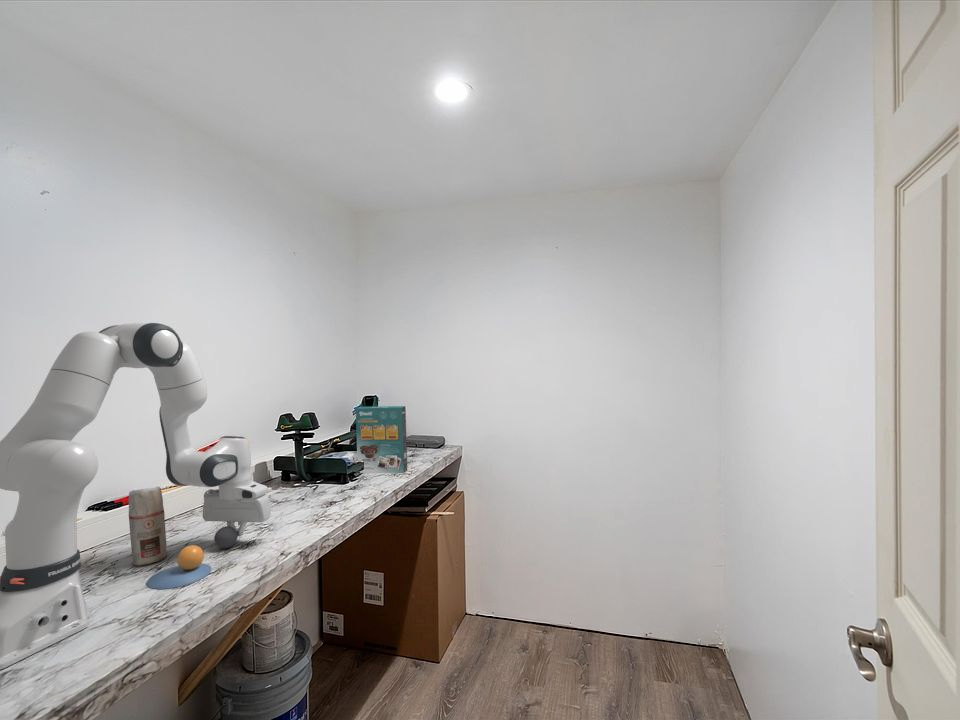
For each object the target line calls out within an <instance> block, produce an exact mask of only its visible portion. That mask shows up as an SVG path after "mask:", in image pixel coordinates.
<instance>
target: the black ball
mask: <svg viewBox="0 0 960 720" xmlns="http://www.w3.org/2000/svg"><path fill="white" fill-rule="evenodd" d="M213 537H214V538H213V540H214V544H215V545H216V546H217V547H218V548H220V549H228V548H231V547H232V546H234V544H235V543H236V542H237V541H238V537H239V536H238V535H237V531H236V530H235V529H234V528H233V527H229V526H227V525H226V526H223V527H220V528H219V529H218V530H217V531H216V532H215V535H214V536H213Z"/></svg>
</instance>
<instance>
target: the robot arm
mask: <svg viewBox="0 0 960 720" xmlns="http://www.w3.org/2000/svg"><path fill="white" fill-rule="evenodd" d="M121 368H129V369H130V368H132V369H145V368H147V369H149V371H150V372H151V373H152V375H153V378H154V382H155V385H156V389H157V391H158V392H157V393H158V396H159V400H160V401H159V402H160V407H159V412H158V413H159V422H160V428H161V433H162V438H163V443H164V447H165V453H166V455H165V456H166V459H165V460H166V461H165V474H166V477H167V478H168V480H169V481H170V483H172V484H173V485H175V486H182V487H188V486H191V487H203V488H210V489H208V490H206V491H205V492H204V494H203V505H202V519H203V520H204V522H223V523H224V522H226V526H229V527H233V528H234V529H235V530H236V531H237V535H238V537H242V536H243V535H244V529H245V528H246V525H247V523H264V522H266V521H267V520H269V519H270V517H271V513H272V512H271V502H270V497H269V496H268V495H267V493H268V491H269V490H268V489H269V488H268V486H266V485H264V484H262V483H258V482H256V481H254V480H252V475H251V471H250V469H251V464H252V455H251V449H250V447H251V446H250V443H249V441H248V439H247V438H246V437H244V436H237V435H236V436H234V435H233V436H232V435H225V436H220V438H219V439H218V441H217V442H216V444H214V445H213V446H212V447H210V448H209V449H207V450H205V451H199V450H196V449H195V448H194V447H193V446H192V445H191V440H190V434H189V429H188V422H187V421H188V418H189V416H190V415H192V414H194V413H195V412H197V411H199V410H200V409H201V408H202V407H203V406H204V404H205V403H206V401H207V398H208V387H207V384H206V380H205V377H204V374H203V371H202V368H201V365H200V363H199V361H198V359H197V357H196V355H195V352H194V351H193V349H192V348H191V346H190V345H189V344H187V343H185V342H182V341H181V338H180V336H179V334H178V333H177V332H176V331H175V330H174V329H173V327H170V326H169V325H166V324H162V323H158V322H148V323H147V322H146V323H142V322H132V323H131V322H130V323H124V324H120V325H118V324H115V325H110V326H108V327H105V328H103V329H102V330H100V331H99V332H97V331H81V332H79V333H76V334H75V335H73V337H72V338H71V339H70V340H69V341H68V342H67V344H66V345H64V347H63V349H62V350H61V351H60V352H59V354H58V355H57V357H56V359H55V360H54V362H53V364H52V366H51V367H50V370H49V371H48V374H47V375H46V378H45V379H44V382H43V383H42V385H41V387H40V389H39V391H38V392H37V394H36V396H35V399H34V400H33V401H32V403H31V405H30V406H29V408H28V409H27V411H25V413H24V414H23V416H21V418H20V419H19V420H18V421H17V422H16V424H15V425H14V426H13V427H12V428H11V429H10V431H9V432H8V433H7V434H6V435H5V436H4V437H3V438H2V439H1V440H0V489H1V490H3V491H9V492H10V491H11V492H18V502H17V507H16V511H15V513H14V515H13V518H12V519H11V520H10V521H9V522H8V523H7V525H6V526H5V529H4V541H5V542H4V544H5V546H4V547H5V561H6V563H5V564H6V565H5V566H4V567H3V569H2V572H1V575H0V670H4V669H5V668H8V667H10V666H12V665H14V664H15V663H18V662H20V661H21V660H24V659H25V658H28V657H30V656H31V655H33V654H36V653H38V652H40V651H42V650H44V649H47V648H48V647H50V646H53V645H54V644H56V643H58V642H60V641H62V640H64V639H66V638H68V637H70V636H72V635H75V634H76V633H78V632H80V631H82V630H84V629H86V628H87V627H89V619H88V618H89V617H90V615H91V611H90V609H89V607H88V605H87V602H86V599H85V596H84V592H83V588H82V582H81V578H80V569H81V566H82V560H81V551H80V550H79V549H78V531H77V529H78V528H77V527H78V526H77V525H78V524H77V521H78V520H77V516H78V510H79V506H80V502H81V499H82V497H83V493H84V491H85V489H86V488H87V486H89V484H90V483H92V481H93V480H94V478H95V477H96V475H97V473H98V468H99V459H98V457H97V455H96V453H95V452H94V450H92V449H91V448H89V447H88V446H86V445H83V444H80V443H78V442H75V441H73V439H74V438H75V437H76V436H77V435H78V433H80V432H81V430H83V429H84V428H85V427H87V426H88V425H90V424H91V423H92V422H94V420H95V419H96V418H97V416H98V413H99V411H100V409H101V407H102V405H103V402H104V400H105V398H106V396H107V393H108V392H109V391H108V390H109V389H110V387H111V385H112V383H113V379H114V378H115V377H114V376H115V374H116V372H117V371H119V369H121ZM215 487H218V488H216V489H212V488H215ZM235 523H237V525H238V528H237V526H236V525H235Z"/></svg>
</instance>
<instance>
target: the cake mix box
mask: <svg viewBox="0 0 960 720" xmlns="http://www.w3.org/2000/svg"><path fill="white" fill-rule="evenodd" d="M406 411H407V410H406V405H404V406H403V405H400V406H399V405H398V406H397V405H396V406H393V405H392V406H391V405H389V406H387V405H386V406H385V405H384V406H379V405H378V406H359V407H355V427H356V460H357V459H358V460H359V461H363V462H364V470H363V471H361V472H360V473H359V474H405V473H407V471H408V449H407V447H408V445H407V418H406V417H407V416H406Z"/></svg>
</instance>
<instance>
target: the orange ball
mask: <svg viewBox="0 0 960 720" xmlns="http://www.w3.org/2000/svg"><path fill="white" fill-rule="evenodd" d="M204 558H205V552H204V551H203V549H202V548H201V547H200V546H198V545H195V544H194V545H193V544H192V545H187V546H185V547H184V548H183V549H181V550H180V551H179V553H178V554H177V560H176V562H177V566H179V567H180V568H182V569H184V570H192V569H195V568H197V567H198V566H199V565H200V564H201V563H203V561H204Z"/></svg>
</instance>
